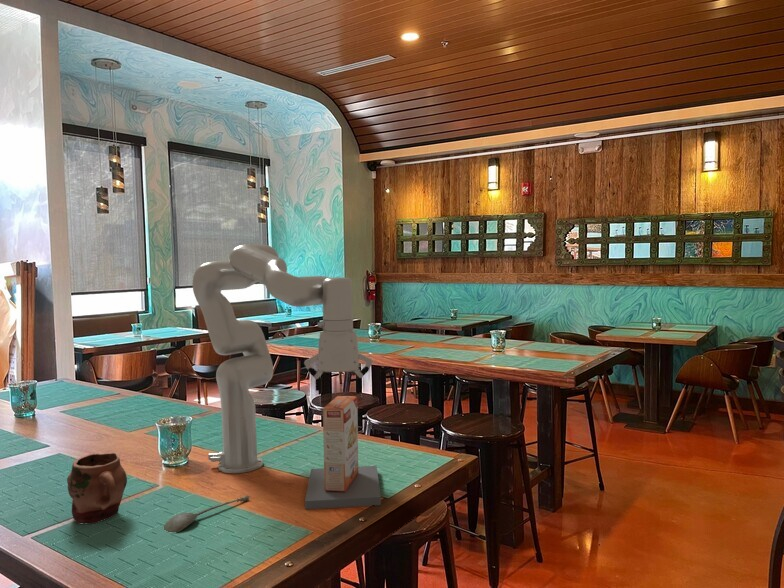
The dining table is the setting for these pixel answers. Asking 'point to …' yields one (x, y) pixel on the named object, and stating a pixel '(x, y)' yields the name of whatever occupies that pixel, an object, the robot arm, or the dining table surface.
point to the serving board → (357, 494)
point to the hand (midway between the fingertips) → (339, 392)
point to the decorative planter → (96, 487)
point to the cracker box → (340, 443)
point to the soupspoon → (192, 517)
